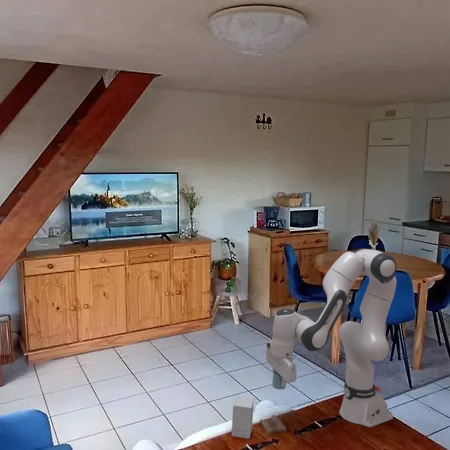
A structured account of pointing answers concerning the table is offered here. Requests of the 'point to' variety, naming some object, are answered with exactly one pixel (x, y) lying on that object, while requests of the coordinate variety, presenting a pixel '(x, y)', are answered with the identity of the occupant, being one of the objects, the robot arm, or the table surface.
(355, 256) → the robot arm
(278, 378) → the teal cap
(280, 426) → the post base
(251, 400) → the supplement box
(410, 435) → the table surface
